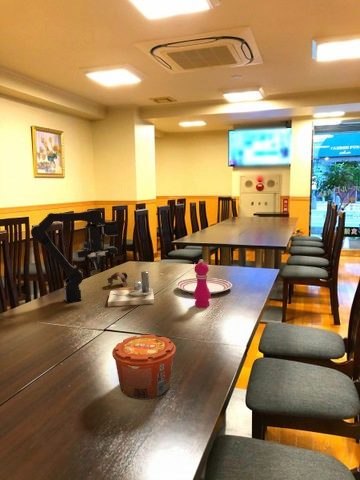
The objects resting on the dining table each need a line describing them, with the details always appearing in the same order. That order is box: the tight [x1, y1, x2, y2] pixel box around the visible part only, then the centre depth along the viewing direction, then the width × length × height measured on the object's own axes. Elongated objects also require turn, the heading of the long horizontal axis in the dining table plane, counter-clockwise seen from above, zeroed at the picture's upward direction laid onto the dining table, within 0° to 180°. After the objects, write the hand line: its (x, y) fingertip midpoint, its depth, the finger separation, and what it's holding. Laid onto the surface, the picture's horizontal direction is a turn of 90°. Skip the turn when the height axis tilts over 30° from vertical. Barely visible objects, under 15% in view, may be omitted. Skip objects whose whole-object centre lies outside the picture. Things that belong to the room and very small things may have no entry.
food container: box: [111, 334, 177, 400], centre depth 94 cm, size 16×16×11 cm
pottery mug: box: [106, 271, 128, 288], centre depth 195 cm, size 12×10×8 cm
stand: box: [107, 287, 155, 307], centre depth 170 cm, size 20×18×2 cm
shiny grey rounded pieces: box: [118, 270, 150, 297], centre depth 169 cm, size 13×13×11 cm
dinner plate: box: [175, 277, 233, 295], centre depth 182 cm, size 28×27×3 cm
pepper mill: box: [193, 259, 212, 309], centre depth 156 cm, size 7×7×20 cm
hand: (97, 270), depth 172 cm, fingers closed
